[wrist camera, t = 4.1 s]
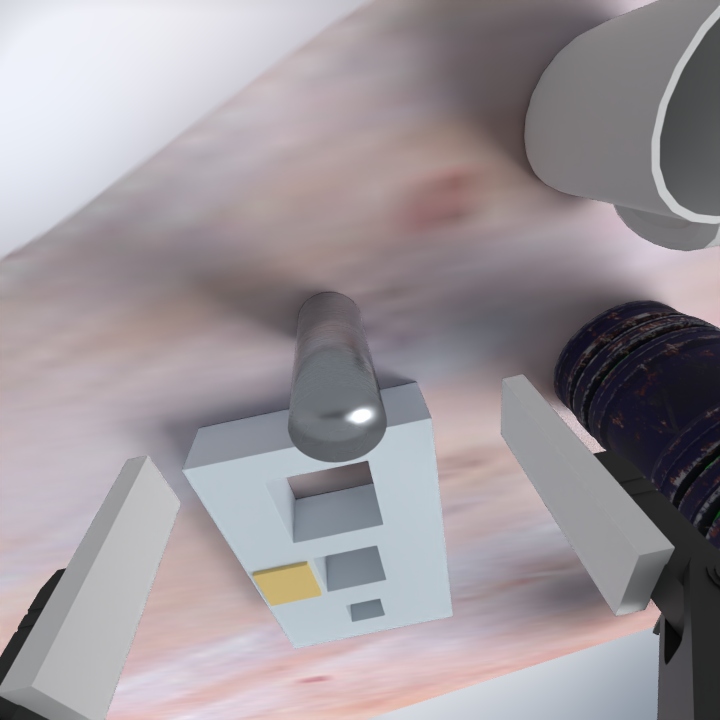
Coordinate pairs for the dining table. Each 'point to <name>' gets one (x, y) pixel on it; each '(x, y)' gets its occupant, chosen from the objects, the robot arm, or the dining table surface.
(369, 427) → the grey rounded cylinder
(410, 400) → the block
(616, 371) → the storage jar
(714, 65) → the cup
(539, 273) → the dining table surface
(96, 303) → the dining table surface
